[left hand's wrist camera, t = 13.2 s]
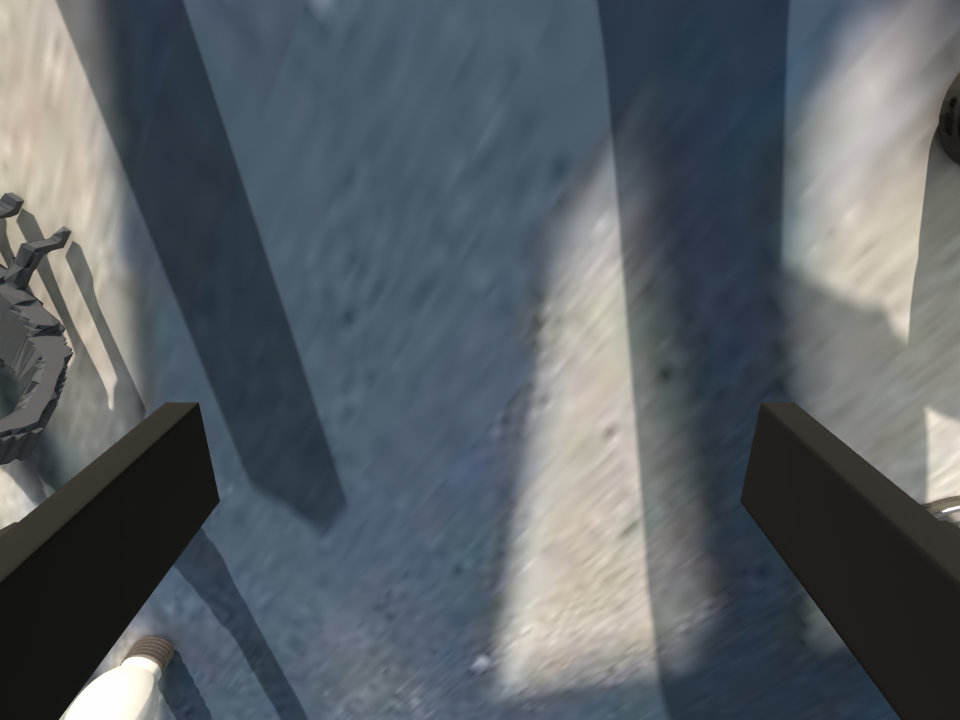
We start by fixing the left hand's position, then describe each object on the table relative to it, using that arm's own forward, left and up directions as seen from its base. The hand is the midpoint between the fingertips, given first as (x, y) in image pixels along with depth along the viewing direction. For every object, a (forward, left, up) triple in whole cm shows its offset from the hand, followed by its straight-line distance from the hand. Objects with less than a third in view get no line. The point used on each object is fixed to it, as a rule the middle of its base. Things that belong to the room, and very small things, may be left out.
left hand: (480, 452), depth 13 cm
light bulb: (+51, -8, -28) cm, 59 cm away
